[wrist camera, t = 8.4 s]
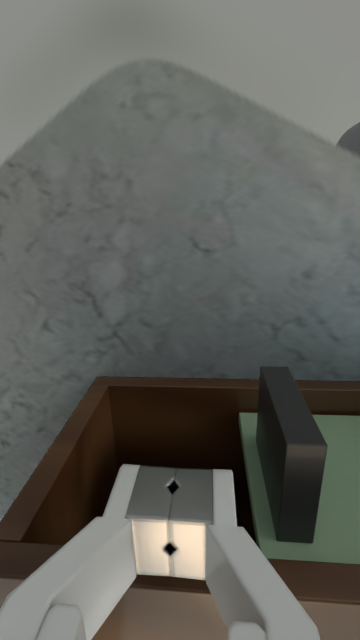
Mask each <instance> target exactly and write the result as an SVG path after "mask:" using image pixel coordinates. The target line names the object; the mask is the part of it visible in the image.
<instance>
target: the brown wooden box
mask: <svg viewBox="0 0 360 640" xmlns="http://www.w3.org/2000/svg"><path fill="white" fill-rule="evenodd" d="M259 381H260V380H256V379H203V378H150V377H97V378H96V379H95V381H94V382H93V384H92V385H91V387H90V388H89V390H88V391H87V393H86V394H85V396H84V397H83V399H82V400H81V402H80V403H79V405H78V406H77V408H76V409H75V411H74V412H73V414H72V415H71V417H70V418H69V420H68V421H67V423H66V424H65V426H64V427H63V429H62V430H61V432H60V433H59V435H58V436H57V438H56V439H55V441H54V442H53V444H52V445H51V447H50V448H49V450H48V451H47V453H46V454H45V456H44V457H43V459H42V460H41V462H40V463H39V465H38V466H37V468H36V469H35V471H34V472H33V474H32V475H31V477H30V478H29V480H28V481H27V483H26V484H25V486H24V487H23V489H22V490H21V492H20V493H19V495H18V496H17V498H16V499H15V501H14V502H13V504H12V505H11V507H10V508H9V510H8V511H7V513H6V514H5V516H4V517H3V519H2V521H1V522H0V608H1V606H2V604H3V602H4V600H5V599H6V597H7V595H8V594H9V593H11V592H12V591H13V590H14V589H15V588H16V587H17V586H18V585H20V584H21V583H22V582H23V581H24V580H25V579H26V578H28V577H29V576H30V575H31V574H32V573H33V572H34V571H35V570H37V569H38V568H39V567H40V566H41V565H42V564H43V563H45V562H46V561H47V560H48V559H49V558H50V557H51V556H53V555H54V554H55V553H56V552H57V551H58V550H59V549H60V548H62V547H63V546H64V545H65V544H66V543H67V542H68V541H70V540H71V539H72V538H73V537H74V536H75V535H76V534H77V533H79V532H80V531H81V530H82V529H83V528H84V527H85V526H87V525H88V524H89V523H90V522H91V521H92V520H93V519H94V518H96V517H102V516H103V514H104V511H105V508H106V505H107V502H108V500H109V497H110V494H111V491H112V488H113V486H114V483H115V480H116V477H117V474H118V472H119V469H120V467H121V466H122V465H123V464H131V465H149V466H161V467H173V468H199V469H212V470H213V469H225V470H232V472H233V481H234V494H235V506H236V519H237V526H238V527H244V529H245V530H246V531H247V533H248V534H249V536H250V537H251V538H252V540H253V541H254V542H255V544H256V539H255V532H254V525H253V518H252V511H251V504H250V497H249V490H248V484H247V477H246V470H245V463H244V456H243V449H242V442H241V435H240V429H239V422H238V419H239V413H258V397H259ZM295 382H296V384H297V386H298V388H299V390H300V392H301V394H302V396H303V398H304V400H305V402H306V404H307V406H308V408H309V409H310V411H311V413H312V415H347V416H360V381H309V380H295ZM266 559H267V560H268V561H269V563H270V564H271V565H272V567H273V568H274V569H275V571H276V572H277V573H278V575H279V576H280V578H281V579H282V580H283V582H284V583H285V584H286V586H287V587H288V588H289V590H290V591H291V592H292V594H293V595H294V596H295V598H296V599H297V601H298V602H299V603H300V605H301V606H302V607H303V609H304V610H305V611H306V613H307V614H308V615H309V617H310V618H311V619H312V621H313V622H314V624H315V625H316V626H317V628H318V632H319V636H320V640H360V564H346V563H331V562H316V561H300V560H285V559H270V558H266ZM227 634H228V629H227V627H226V625H225V623H224V621H223V619H222V616H221V614H220V612H219V610H218V608H217V606H216V603H215V601H214V599H213V597H212V595H211V592H210V590H209V588H208V586H207V584H206V580H198V579H189V578H181V577H173V576H157V575H138V574H136V578H135V580H134V581H133V582H132V584H131V585H130V587H129V588H128V589H127V591H126V592H125V594H124V595H123V596H122V598H121V599H120V601H119V602H118V603H117V605H116V606H115V607H114V609H113V610H112V612H111V613H110V614H109V616H108V617H107V619H106V620H105V621H104V623H103V624H102V626H101V627H100V628H99V630H98V631H97V632H96V634H95V635H94V637H93V638H92V639H91V640H227Z"/></svg>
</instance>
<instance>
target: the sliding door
mask: <svg viewBox="0 0 360 640" xmlns="http://www.w3.org/2000/svg"><path fill="white" fill-rule="evenodd" d="M238 422H239V429H240V435H241V442H242V449H243V456H244V463H245V470H246V477H247V484H248V490H249V497H250V504H251V511H252V518H253V525H254V532H255V539H256V545H257V546H258V548H259V549H260V550H261V552H262V553H263V554H264V556H265V557H266V558H270V559H285V560H300V561H316V562H331V563H346V564H360V416H347V415H312V413H311V411H310V409H309V408H308V406H307V404H306V402H305V400H304V398H303V396H302V394H301V392H300V390H299V388H298V386H297V384H296V382H295V380H294V378H293V376H292V374H291V372H290V370H289V368H288V367H260V381H259V397H258V413H239V419H238Z"/></svg>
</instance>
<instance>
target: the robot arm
mask: <svg viewBox="0 0 360 640" xmlns="http://www.w3.org/2000/svg"><path fill="white" fill-rule="evenodd" d="M136 574H138V575H157V576H173V577H181V578H189V579H198V580H206V584H207V586H208V588H209V590H210V592H211V595H212V597H213V599H214V601H215V603H216V606H217V608H218V610H219V612H220V614H221V616H222V619H223V621H224V623H225V625H226V627H227V629H228V634H227V640H320V636H319V632H318V628H317V626H316V625H315V624H314V622H313V621H312V619H311V618H310V617H309V615H308V614H307V613H306V611H305V610H304V609H303V607H302V606H301V605H300V603H299V602H298V601H297V599H296V598H295V596H294V595H293V594H292V592H291V591H290V590H289V588H288V587H287V586H286V584H285V583H284V582H283V580H282V579H281V578H280V576H279V575H278V573H277V572H276V571H275V569H274V568H273V567H272V565H271V564H270V563H269V561H268V560H267V559H266V557H265V556H264V554H263V553H262V552H261V550H260V549H259V548H258V546H257V545H256V544H255V542H254V541H253V540H252V538H251V537H250V536H249V534H248V533H247V531H246V530H245V529H244V527H238V526H237V519H236V506H235V494H234V481H233V472H232V470H225V469H213V470H212V469H199V468H173V467H161V466H149V465H131V464H123V465H122V466H121V467H120V469H119V472H118V474H117V477H116V480H115V483H114V486H113V488H112V491H111V494H110V497H109V500H108V502H107V505H106V508H105V511H104V514H103V516H102V517H96V518H94V519H93V520H92V521H91V522H90V523H89V524H88V525H87V526H85V527H84V528H83V529H82V530H81V531H80V532H79V533H77V534H76V535H75V536H74V537H73V538H72V539H71V540H70V541H68V542H67V543H66V544H65V545H64V546H63V547H62V548H60V549H59V550H58V551H57V552H56V553H55V554H54V555H53V556H51V557H50V558H49V559H48V560H47V561H46V562H45V563H43V564H42V565H41V566H40V567H39V568H38V569H37V570H35V571H34V572H33V573H32V574H31V575H30V576H29V577H28V578H26V579H25V580H24V581H23V582H22V583H21V584H20V585H18V586H17V587H16V588H15V589H14V590H13V591H12V592H11V593H9V594H8V595H7V597H6V599H5V600H4V602H3V604H2V606H1V608H0V640H91V639H92V638H93V637H94V635H95V634H96V632H97V631H98V630H99V628H100V627H101V626H102V624H103V623H104V621H105V620H106V619H107V617H108V616H109V614H110V613H111V612H112V610H113V609H114V607H115V606H116V605H117V603H118V602H119V601H120V599H121V598H122V596H123V595H124V594H125V592H126V591H127V589H128V588H129V587H130V585H131V584H132V582H133V581H134V580H135V578H136Z"/></svg>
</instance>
